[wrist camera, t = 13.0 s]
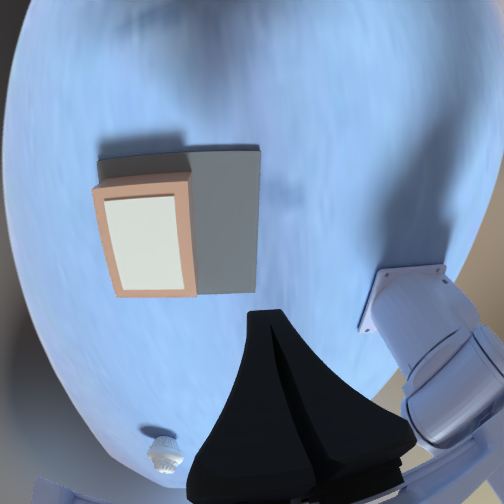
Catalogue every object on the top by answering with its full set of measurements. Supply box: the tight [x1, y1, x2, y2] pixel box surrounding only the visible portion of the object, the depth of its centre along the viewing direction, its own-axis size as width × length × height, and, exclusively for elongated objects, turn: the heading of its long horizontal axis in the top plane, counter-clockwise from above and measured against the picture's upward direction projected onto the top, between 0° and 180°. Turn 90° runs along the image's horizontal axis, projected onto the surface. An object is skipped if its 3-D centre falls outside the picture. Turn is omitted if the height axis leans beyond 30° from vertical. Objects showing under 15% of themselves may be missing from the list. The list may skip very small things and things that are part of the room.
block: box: [92, 172, 199, 298], centre depth 17 cm, size 3×8×6 cm
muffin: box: [147, 436, 184, 474], centre depth 34 cm, size 6×6×7 cm
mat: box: [97, 150, 261, 295], centre depth 19 cm, size 11×11×1 cm
